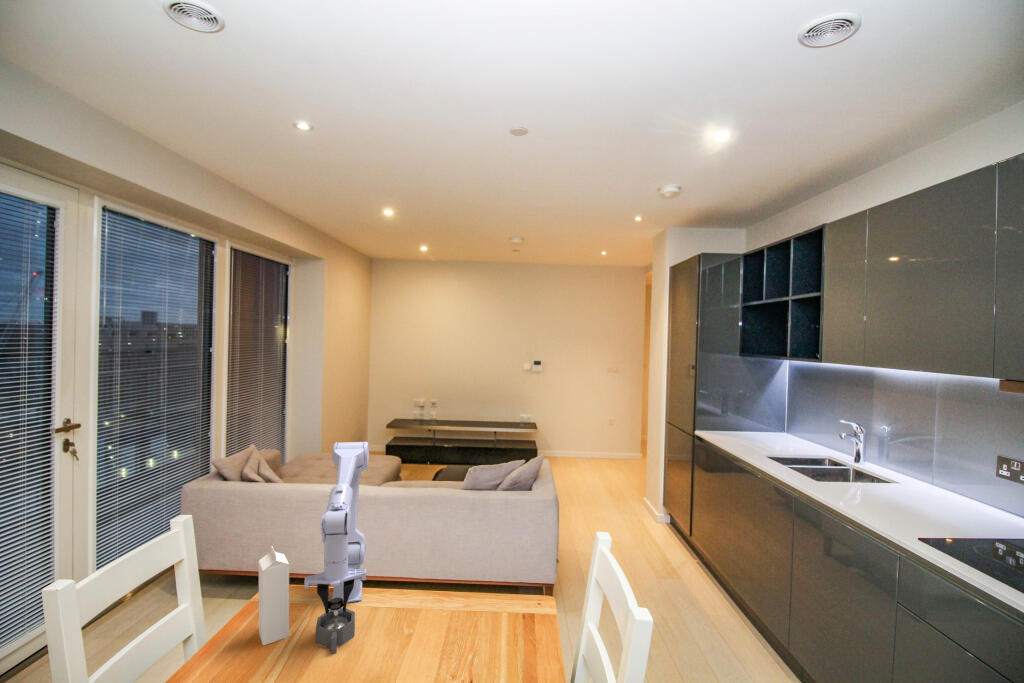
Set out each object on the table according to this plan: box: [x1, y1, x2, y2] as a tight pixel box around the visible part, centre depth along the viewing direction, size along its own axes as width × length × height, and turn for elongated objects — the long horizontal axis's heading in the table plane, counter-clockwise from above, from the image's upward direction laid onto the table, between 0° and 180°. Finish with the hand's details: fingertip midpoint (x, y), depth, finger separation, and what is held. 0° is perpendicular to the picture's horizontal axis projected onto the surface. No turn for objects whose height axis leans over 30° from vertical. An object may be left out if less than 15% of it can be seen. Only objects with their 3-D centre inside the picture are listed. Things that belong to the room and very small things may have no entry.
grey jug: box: [315, 607, 356, 654], centre depth 118 cm, size 12×9×4 cm
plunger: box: [323, 598, 348, 630], centre depth 119 cm, size 6×6×6 cm
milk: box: [258, 545, 290, 647], centre depth 118 cm, size 6×6×22 cm
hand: (335, 610), depth 119 cm, fingers closed on plunger, 3 cm apart
